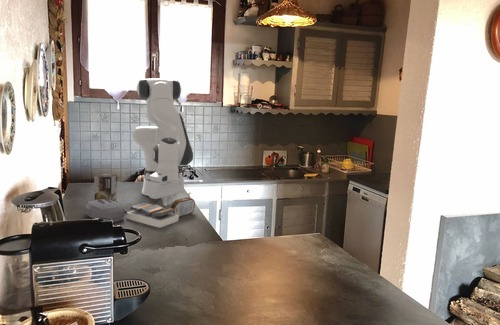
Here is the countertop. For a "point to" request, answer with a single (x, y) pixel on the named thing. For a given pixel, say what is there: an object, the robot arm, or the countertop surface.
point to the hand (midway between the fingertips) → (166, 205)
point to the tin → (183, 206)
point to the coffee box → (105, 186)
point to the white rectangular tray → (152, 218)
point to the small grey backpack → (105, 209)
